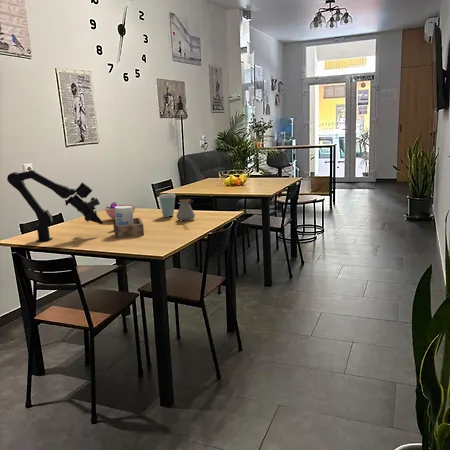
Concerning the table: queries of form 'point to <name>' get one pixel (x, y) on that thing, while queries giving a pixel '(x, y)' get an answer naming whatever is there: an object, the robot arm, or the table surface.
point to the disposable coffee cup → (167, 204)
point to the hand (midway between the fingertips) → (102, 223)
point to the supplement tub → (124, 215)
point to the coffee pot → (185, 210)
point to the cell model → (111, 209)
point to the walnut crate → (129, 229)
